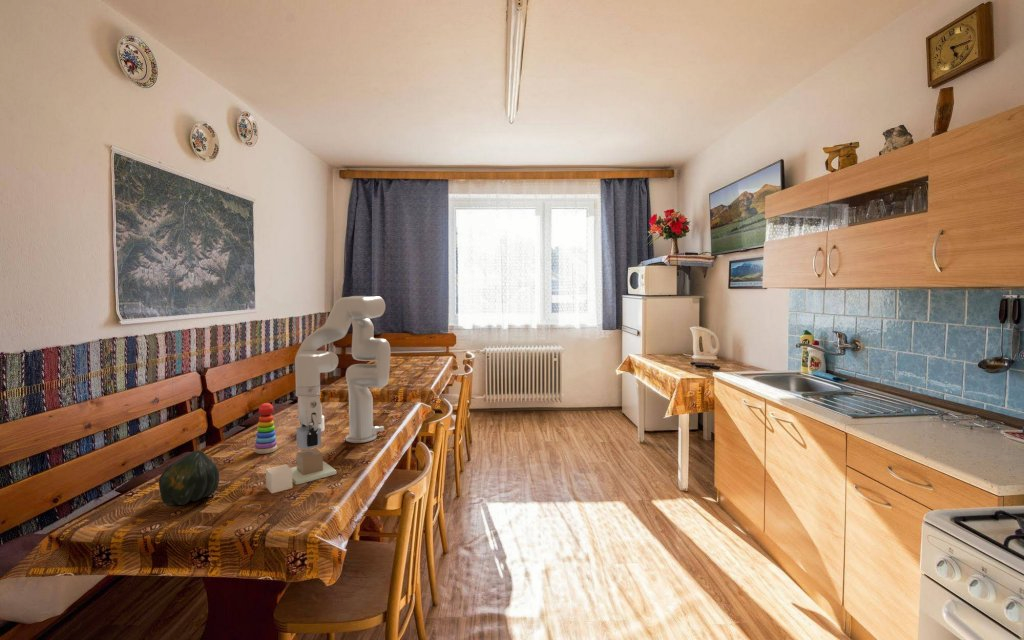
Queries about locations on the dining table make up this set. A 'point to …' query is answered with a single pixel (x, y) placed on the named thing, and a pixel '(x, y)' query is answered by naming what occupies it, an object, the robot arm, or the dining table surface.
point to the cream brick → (279, 478)
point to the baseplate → (313, 475)
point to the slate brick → (302, 437)
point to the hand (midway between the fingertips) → (308, 442)
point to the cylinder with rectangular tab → (322, 421)
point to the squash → (188, 479)
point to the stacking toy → (265, 431)
